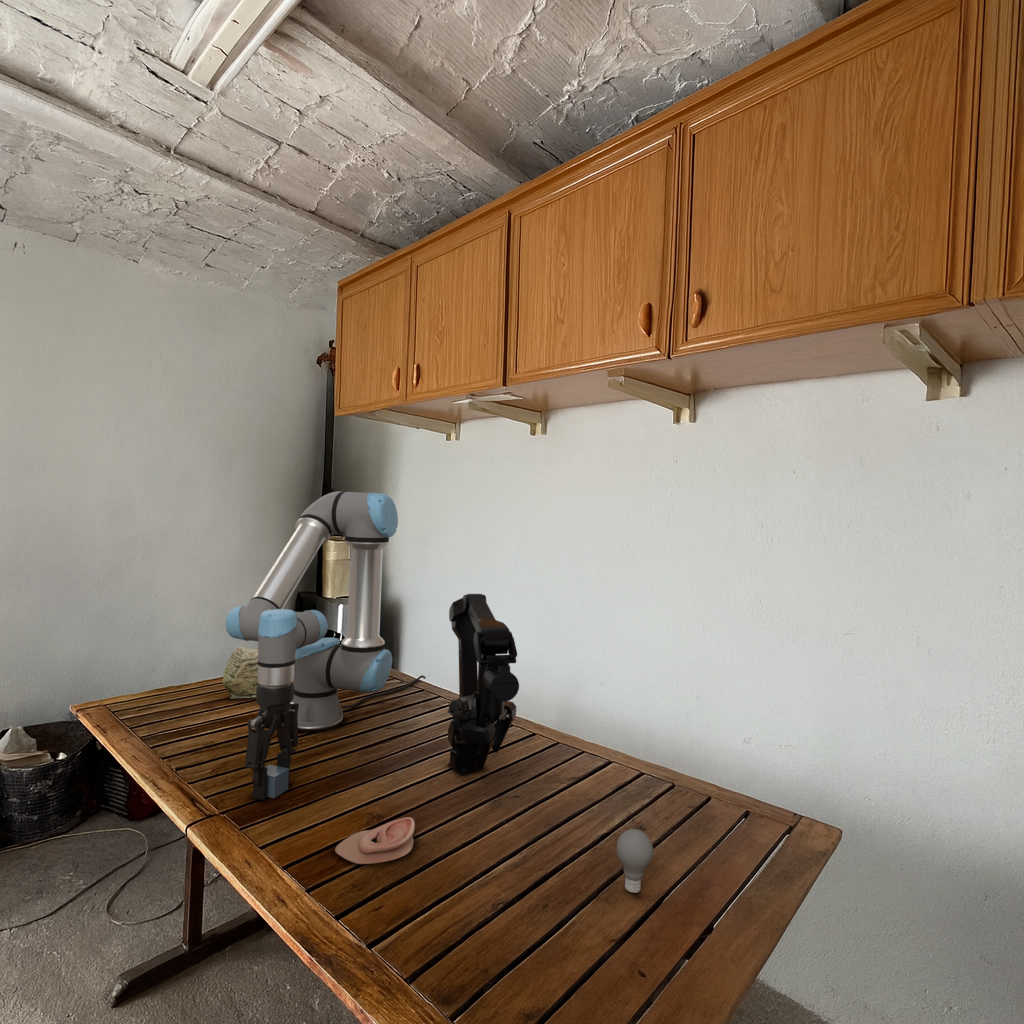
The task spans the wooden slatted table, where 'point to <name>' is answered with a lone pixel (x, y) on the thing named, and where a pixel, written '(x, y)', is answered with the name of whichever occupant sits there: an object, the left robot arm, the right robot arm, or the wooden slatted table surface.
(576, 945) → the wooden slatted table surface
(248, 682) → the fossil
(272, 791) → the block
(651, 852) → the light bulb
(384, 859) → the anatomical model
